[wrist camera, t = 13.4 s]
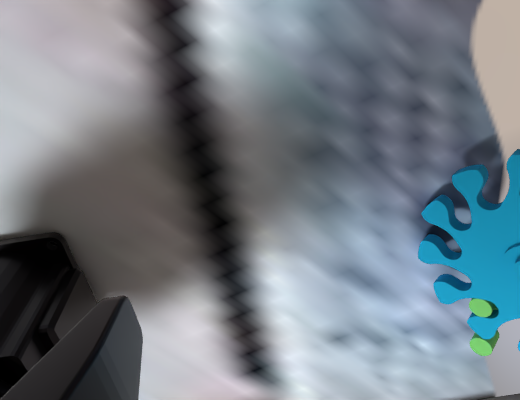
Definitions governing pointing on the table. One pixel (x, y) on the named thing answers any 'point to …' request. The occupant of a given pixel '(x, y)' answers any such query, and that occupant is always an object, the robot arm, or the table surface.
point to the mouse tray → (505, 397)
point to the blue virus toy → (479, 252)
